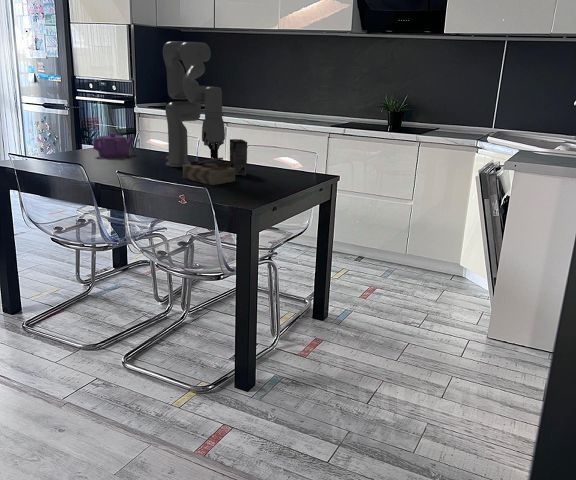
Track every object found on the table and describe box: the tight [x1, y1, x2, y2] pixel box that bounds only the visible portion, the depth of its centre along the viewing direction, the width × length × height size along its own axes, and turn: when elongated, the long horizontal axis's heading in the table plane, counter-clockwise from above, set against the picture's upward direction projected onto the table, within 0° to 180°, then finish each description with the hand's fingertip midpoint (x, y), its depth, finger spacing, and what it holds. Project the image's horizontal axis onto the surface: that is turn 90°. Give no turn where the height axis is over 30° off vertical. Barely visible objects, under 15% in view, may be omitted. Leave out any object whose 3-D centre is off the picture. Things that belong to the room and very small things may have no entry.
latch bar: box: [195, 157, 224, 164], centre depth 252 cm, size 16×4×1 cm, turn 48°
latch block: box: [182, 159, 236, 186], centre depth 253 cm, size 20×14×8 cm
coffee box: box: [229, 138, 248, 176], centre depth 268 cm, size 9×6×16 cm
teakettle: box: [92, 132, 134, 159], centre depth 304 cm, size 17×17×12 cm
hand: (214, 158), depth 249 cm, fingers closed
